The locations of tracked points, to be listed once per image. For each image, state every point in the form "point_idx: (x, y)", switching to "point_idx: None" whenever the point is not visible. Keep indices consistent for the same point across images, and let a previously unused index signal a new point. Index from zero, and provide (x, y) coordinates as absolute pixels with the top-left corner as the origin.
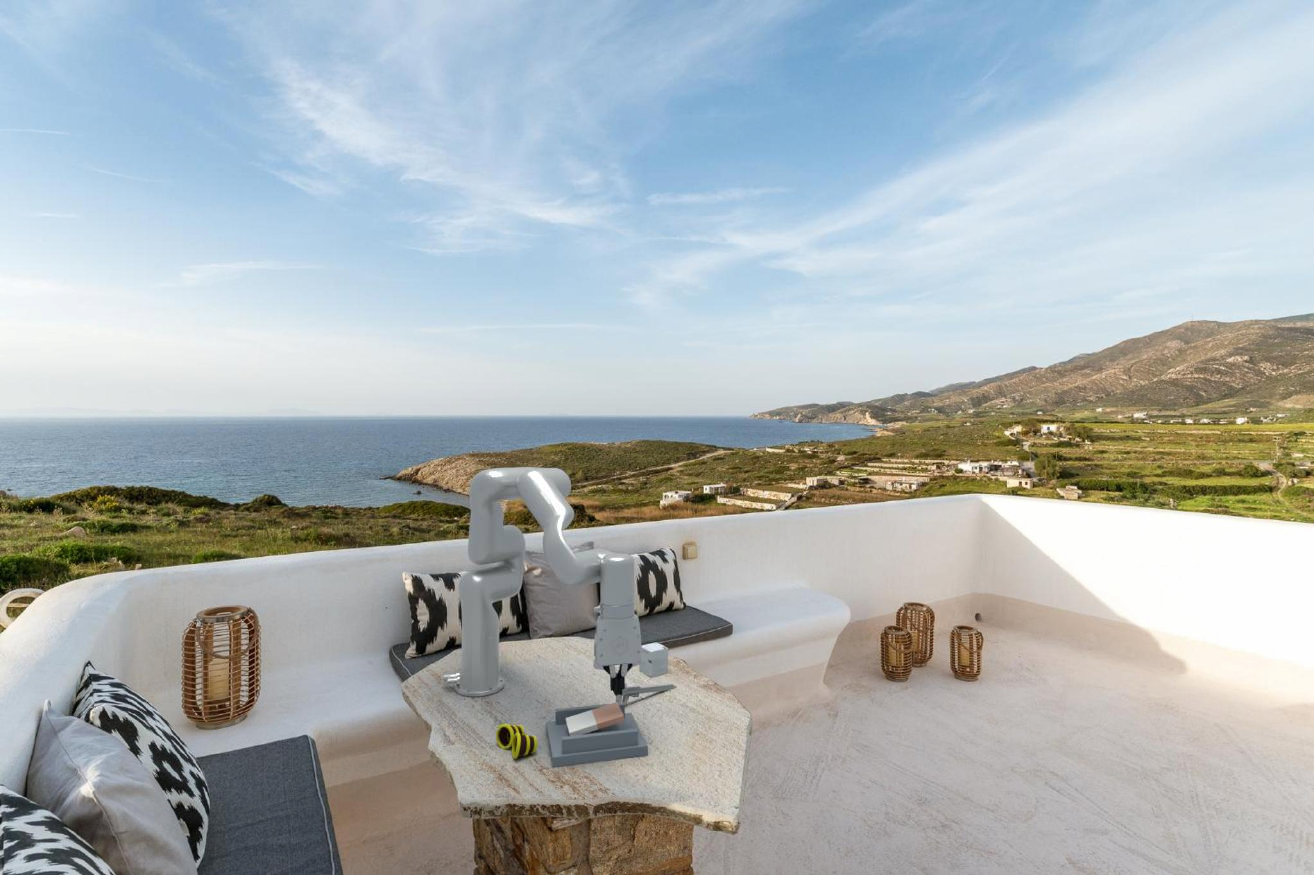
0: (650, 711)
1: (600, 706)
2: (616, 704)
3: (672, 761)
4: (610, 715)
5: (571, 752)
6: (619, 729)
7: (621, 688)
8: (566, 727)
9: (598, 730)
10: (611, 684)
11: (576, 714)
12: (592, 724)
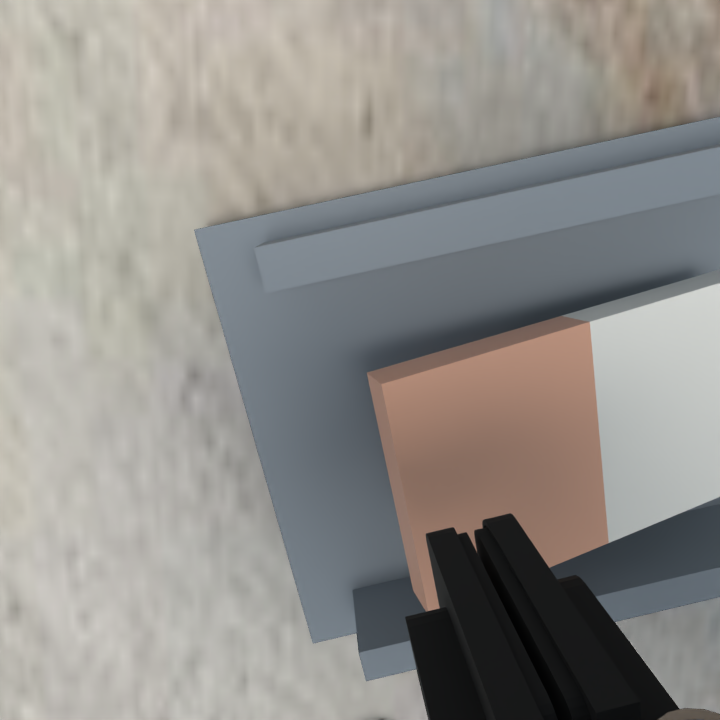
0: (206, 708)
1: None
2: None
3: (42, 150)
4: (487, 420)
5: (704, 146)
6: None
7: (459, 580)
8: None
9: None
10: (619, 634)
11: (670, 553)
12: (619, 329)
